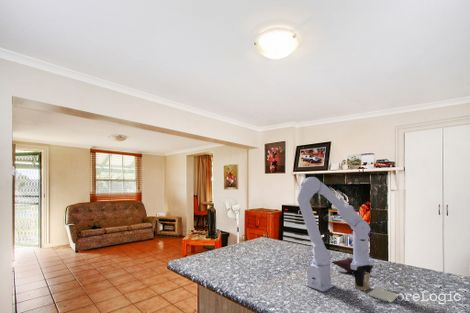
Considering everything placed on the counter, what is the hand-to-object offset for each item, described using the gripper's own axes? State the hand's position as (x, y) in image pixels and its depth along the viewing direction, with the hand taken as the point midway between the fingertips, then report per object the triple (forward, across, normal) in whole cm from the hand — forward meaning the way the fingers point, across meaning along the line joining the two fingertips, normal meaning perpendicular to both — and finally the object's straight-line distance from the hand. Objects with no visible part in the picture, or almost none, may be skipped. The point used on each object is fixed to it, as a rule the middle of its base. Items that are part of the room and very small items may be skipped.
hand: (362, 284), depth 103 cm
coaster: (+1, -1, -8) cm, 8 cm away
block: (+1, 0, 0) cm, 1 cm away
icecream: (+2, +14, +12) cm, 18 cm away
